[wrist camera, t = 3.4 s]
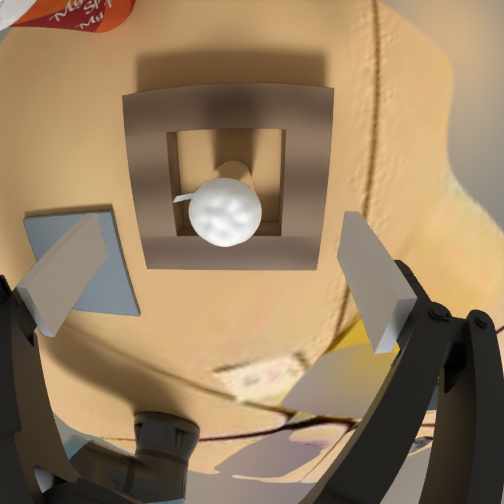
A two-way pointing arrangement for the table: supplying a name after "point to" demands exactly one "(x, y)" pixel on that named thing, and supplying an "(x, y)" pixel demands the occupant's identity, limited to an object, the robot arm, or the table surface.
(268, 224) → the pocket block
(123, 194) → the table surface
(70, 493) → the robot arm
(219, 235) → the milkshake
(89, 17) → the paper cup
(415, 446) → the terrain model
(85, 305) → the mat
